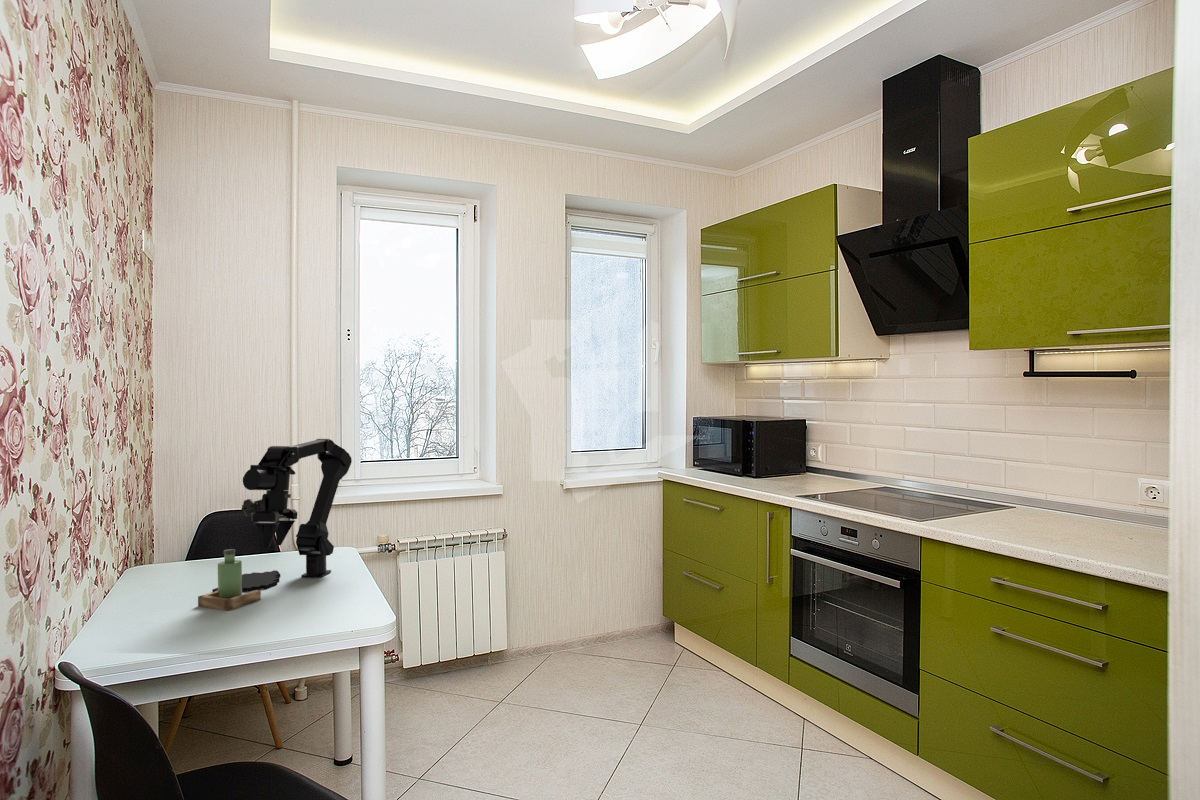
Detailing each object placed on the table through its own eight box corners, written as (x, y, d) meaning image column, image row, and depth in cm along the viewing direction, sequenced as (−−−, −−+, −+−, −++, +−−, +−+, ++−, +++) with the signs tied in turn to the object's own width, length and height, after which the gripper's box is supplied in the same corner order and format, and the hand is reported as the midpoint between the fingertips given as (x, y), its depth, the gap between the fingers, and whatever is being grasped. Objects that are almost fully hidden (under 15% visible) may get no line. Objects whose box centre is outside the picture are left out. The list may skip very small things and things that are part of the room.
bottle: (238, 595, 187) (237, 546, 187) (245, 600, 183) (244, 550, 183) (215, 600, 183) (214, 550, 183) (221, 605, 179) (220, 553, 179)
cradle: (231, 595, 190) (231, 586, 190) (260, 599, 186) (260, 590, 186) (198, 606, 181) (197, 596, 181) (228, 610, 177) (228, 600, 177)
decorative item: (242, 569, 215) (300, 571, 211) (242, 574, 215) (300, 576, 211) (184, 589, 192) (247, 593, 188) (184, 595, 192) (247, 598, 188)
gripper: (260, 489, 204) (256, 543, 202) (233, 489, 186) (228, 549, 184) (299, 490, 205) (295, 544, 203) (276, 490, 187) (271, 549, 185)
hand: (272, 546), depth 194 cm, fingers open, 9 cm apart
